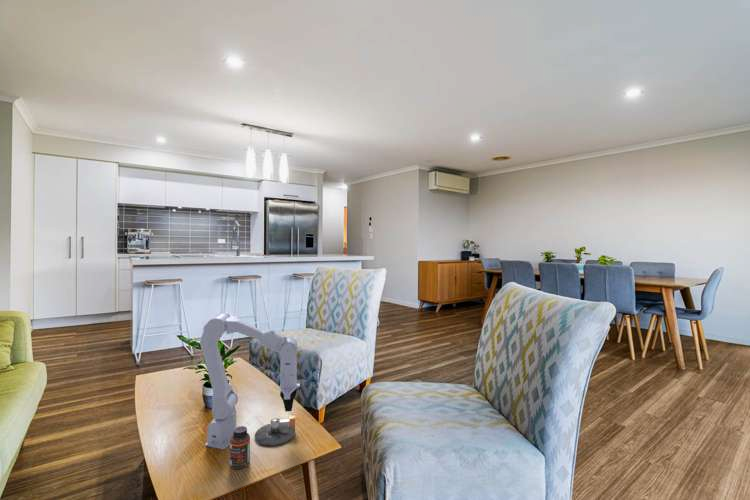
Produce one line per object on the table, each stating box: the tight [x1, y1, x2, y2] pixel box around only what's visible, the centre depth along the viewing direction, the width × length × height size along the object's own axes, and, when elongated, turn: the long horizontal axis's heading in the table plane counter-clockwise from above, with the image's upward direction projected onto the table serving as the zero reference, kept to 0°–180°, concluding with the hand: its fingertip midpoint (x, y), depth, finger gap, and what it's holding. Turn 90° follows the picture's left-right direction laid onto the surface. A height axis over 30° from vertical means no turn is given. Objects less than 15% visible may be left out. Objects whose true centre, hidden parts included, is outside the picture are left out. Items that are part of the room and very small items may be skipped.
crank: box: [270, 415, 296, 434], centre depth 130 cm, size 9×3×5 cm, turn 102°
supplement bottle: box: [229, 425, 251, 470], centre depth 112 cm, size 6×6×11 cm
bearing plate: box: [254, 423, 296, 447], centre depth 129 cm, size 14×14×1 cm
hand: (288, 410), depth 128 cm, fingers closed
